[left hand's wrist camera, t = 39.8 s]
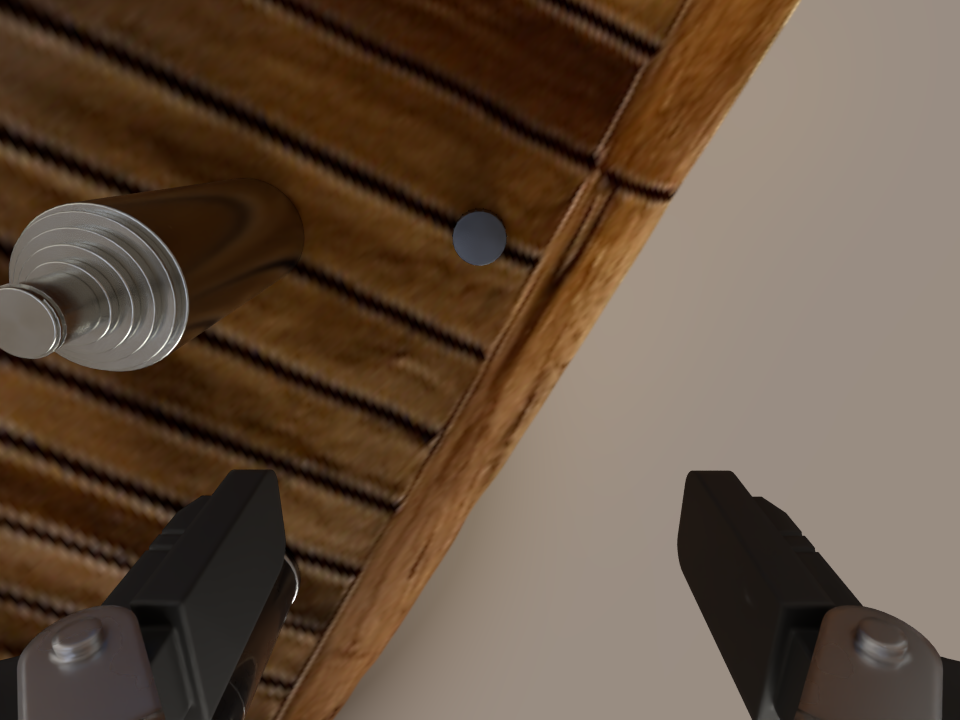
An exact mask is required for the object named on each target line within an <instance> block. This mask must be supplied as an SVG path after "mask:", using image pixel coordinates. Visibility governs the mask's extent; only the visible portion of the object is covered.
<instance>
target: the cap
mask: <svg viewBox="0 0 960 720" xmlns="http://www.w3.org/2000/svg"><path fill="white" fill-rule="evenodd" d="M452 237H453V245H454V248H455V251H456V252H457V254H458V255H459V256H460V257H461V258H462V259H463V260H464V261H466V262H467V263H469V264H472V265H479V266H480V265H487V264H490V263H492V262H494V261H495V260H496V259H497V258H499V257H500V255H501V254H502V252H503V251H504V248H505V245H506V237H507V235H506V232H505V226H504V225H503V223H502V220H500V218H499V217H498V216H497V214H494V213H493V212H491V210H490V211H489V210H486V209H484V208H483V209H476V208H475V209H474V210H470V211H469V210H468V212H466V213H465V214H462V216H461V217H460V219H459V220H457V223H456V226H454V232H453V235H452Z"/></svg>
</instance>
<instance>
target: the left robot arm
mask: <svg viewBox="0 0 960 720" xmlns="http://www.w3.org/2000/svg"><path fill="white" fill-rule="evenodd" d="M285 546H286V539H285V530H284V523H283V516H282V509H281V501H280V494H279V487H278V480H277V476H276V474H275V472H274V471H273V470H232V471H230V472H229V473H228V475H227V476H226V477H225V479H224V480H223V481H222V483H221V484H220V485H219V487H218V488H217V489H216V490H215V492H214V493H213V494H212V496H201V497H199V498H198V499H196V500H195V501H193V502H192V503H190V504H189V505H187V506H186V507H184V508H183V509H181V510H180V511H178V512H177V513H176V515H175V516H174V517H173V518H172V519H171V521H170V522H169V523H168V524H167V526H166V527H165V528H164V529H163V530H162V534H159V535H158V537H157V538H156V539H155V540H154V541H153V543H152V544H151V545H150V546H149V551H145V552H144V554H143V555H142V556H141V557H140V559H139V560H138V561H137V562H136V563H135V565H134V566H133V567H132V568H131V570H130V571H129V572H128V573H127V574H126V576H125V577H124V578H123V579H122V580H121V582H120V583H119V584H118V585H117V587H116V588H115V589H114V590H113V591H112V593H111V594H110V595H109V596H108V598H107V599H106V600H105V601H104V602H103V604H102V605H101V606H96V607H92V608H88V609H84V610H81V611H78V612H75V613H73V614H71V615H68V616H66V617H64V618H62V619H60V620H58V621H56V622H55V623H53V624H52V625H50V626H49V627H47V628H46V629H44V630H43V631H42V632H40V633H39V634H38V635H37V636H36V637H35V638H34V639H33V640H32V641H31V642H30V643H29V644H28V645H27V646H26V648H25V649H24V651H23V652H22V654H21V655H20V656H17V657H13V658H9V659H4V660H0V720H244V718H245V716H246V714H247V711H248V709H249V706H250V704H251V701H252V699H253V697H254V694H255V692H256V689H257V687H258V684H259V682H260V680H261V677H262V675H263V672H264V670H265V667H266V665H267V663H268V660H269V658H270V655H271V653H272V650H273V648H274V645H275V643H276V641H277V638H278V636H279V633H280V631H281V628H282V626H283V624H284V622H285V619H286V617H287V614H288V612H289V609H290V607H291V604H292V603H293V601H294V599H295V597H296V595H297V592H298V590H299V587H300V572H299V568H298V566H297V564H296V562H295V560H294V559H293V557H292V556H291V555H290V554H289V553H288V552H287V551H286V550H285ZM677 547H678V557H679V562H680V566H681V569H682V572H683V574H684V576H685V578H686V580H687V582H688V585H689V587H690V589H691V591H692V593H693V595H694V597H695V600H696V602H697V604H698V606H699V608H700V610H701V612H702V614H703V616H704V619H705V621H706V623H707V625H708V627H709V629H710V631H711V633H712V635H713V638H714V640H715V642H716V644H717V646H718V648H719V650H720V652H721V655H722V657H723V659H724V661H725V663H726V665H727V667H728V669H729V672H730V674H731V676H732V678H733V680H734V682H735V684H736V686H737V688H738V691H739V693H740V695H741V697H742V699H743V701H744V703H745V705H746V708H747V710H748V712H749V714H750V716H751V718H752V720H960V661H956V660H951V659H947V658H944V657H940V655H939V654H938V652H937V651H936V649H935V648H934V646H933V645H932V644H931V643H930V642H929V641H928V640H927V639H926V638H925V637H924V636H923V635H922V634H921V633H920V632H918V631H917V630H916V629H914V628H913V627H911V626H910V625H908V624H907V623H905V622H903V621H902V620H900V619H898V618H896V617H894V616H892V615H889V614H887V613H885V612H882V611H879V610H876V609H872V608H868V607H864V606H862V604H861V603H860V602H859V601H858V600H857V598H856V597H855V596H854V595H853V593H852V592H851V591H850V590H849V589H848V587H847V586H846V585H845V584H844V583H843V581H842V580H841V579H840V578H839V577H838V575H837V574H836V573H835V572H834V571H833V569H832V568H831V567H830V566H829V564H828V563H827V562H826V561H825V560H824V558H823V557H822V556H821V555H820V554H819V552H815V548H814V546H813V545H812V544H811V543H810V542H809V540H808V539H807V538H806V537H805V536H802V532H801V531H800V529H799V528H798V527H797V526H796V525H795V523H794V522H793V521H792V520H791V519H790V517H789V516H788V515H787V514H786V513H785V512H784V511H782V510H781V509H779V508H778V507H776V506H775V505H773V504H772V503H770V502H769V501H767V500H766V499H764V498H763V497H752V496H751V495H750V493H749V492H748V491H747V489H746V488H745V487H744V486H743V484H742V483H741V482H740V480H739V479H738V478H737V476H736V475H735V474H734V473H733V472H731V471H690V472H689V473H688V475H687V478H686V482H685V489H684V496H683V503H682V510H681V517H680V524H679V531H678V540H677Z"/></svg>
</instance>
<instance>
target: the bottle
mask: <svg viewBox="0 0 960 720" xmlns="http://www.w3.org/2000/svg"><path fill="white" fill-rule="evenodd" d="M303 246H304V230H303V225H302V221H301V218H300V216H299V214H298V212H297V210H296V208H295V207H294V205H293V204H292V202H291V201H290V200H289V199H288V198H287V197H286V196H285V195H284V194H283V193H282V192H281V191H280V190H278V189H277V188H275V187H274V186H272V185H270V184H268V183H266V182H263V181H260V180H257V179H251V178H238V179H231V180H224V181H217V182H210V183H203V184H196V185H190V186H183V187H176V188H169V189H162V190H155V191H148V192H142V193H135V194H128V195H121V196H114V197H107V198H100V199H94V200H87V201H80V202H73V203H67V204H63V205H59V206H56V207H53V208H51V209H48V210H46V211H45V212H43V213H41V214H40V215H38V216H37V217H36V218H35V219H34V220H32V221H31V222H30V223H29V225H28V226H27V227H26V228H25V230H24V231H23V232H22V234H21V236H20V237H19V239H18V241H17V243H16V244H15V246H14V249H13V252H12V254H11V259H10V264H9V281H10V283H9V284H6V285H2V286H0V348H1V349H2V350H4V351H5V352H7V353H9V354H12V355H14V356H18V357H22V358H28V359H35V358H42V357H45V356H48V355H49V354H51V353H52V352H56V353H57V354H59V355H60V356H62V357H64V358H66V359H68V360H70V361H72V362H74V363H77V364H80V365H82V366H86V367H90V368H94V369H100V370H108V371H133V370H137V369H142V368H145V367H148V366H151V365H153V364H155V363H157V362H159V361H160V360H162V359H163V358H165V357H166V356H168V355H169V354H171V353H172V352H174V351H175V350H177V349H178V348H180V347H181V346H183V345H184V344H185V343H187V342H188V341H190V340H191V339H193V338H194V337H196V336H197V335H199V334H200V333H202V332H203V331H205V330H206V329H207V328H209V327H210V326H212V325H213V324H215V323H216V322H218V321H219V320H221V319H222V318H224V317H225V316H227V315H228V314H230V313H231V312H232V311H234V310H235V309H237V308H238V307H240V306H241V305H243V304H244V303H246V302H247V301H249V300H250V299H252V298H253V297H255V296H256V295H257V294H259V293H260V292H262V291H263V290H265V289H266V288H268V287H269V286H271V285H272V284H274V283H275V282H277V281H278V280H280V279H281V278H282V277H284V276H285V275H287V274H288V273H289V272H290V271H291V270H292V269H293V268H294V267H295V265H296V264H297V263H298V261H299V259H300V257H301V254H302V251H303Z"/></svg>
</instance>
